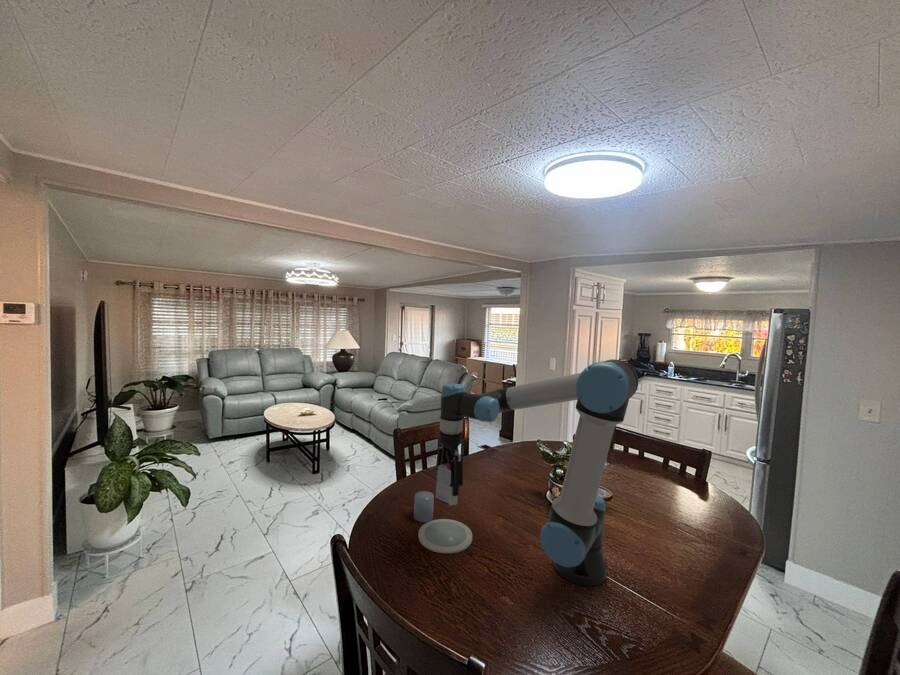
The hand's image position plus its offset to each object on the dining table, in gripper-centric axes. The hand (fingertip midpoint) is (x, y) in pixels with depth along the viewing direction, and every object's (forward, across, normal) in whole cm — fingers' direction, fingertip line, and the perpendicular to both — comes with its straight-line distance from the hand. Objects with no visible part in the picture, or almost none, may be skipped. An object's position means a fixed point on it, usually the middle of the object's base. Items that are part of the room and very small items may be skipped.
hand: (447, 498), depth 124 cm
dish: (+13, 0, 0) cm, 13 cm away
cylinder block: (+13, +14, +2) cm, 19 cm away
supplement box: (+1, 0, 0) cm, 1 cm away
